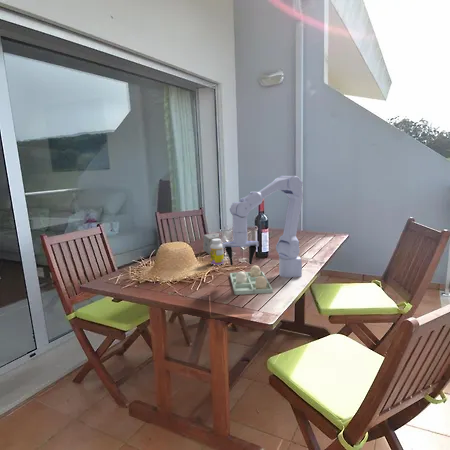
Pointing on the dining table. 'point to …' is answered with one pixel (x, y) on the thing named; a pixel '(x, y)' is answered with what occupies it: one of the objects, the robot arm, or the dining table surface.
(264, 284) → the tan egg
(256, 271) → the tan egg
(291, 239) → the robot arm
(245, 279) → the cream egg
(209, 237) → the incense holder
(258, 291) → the egg tray
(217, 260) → the supplement bottle
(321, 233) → the dining table surface
